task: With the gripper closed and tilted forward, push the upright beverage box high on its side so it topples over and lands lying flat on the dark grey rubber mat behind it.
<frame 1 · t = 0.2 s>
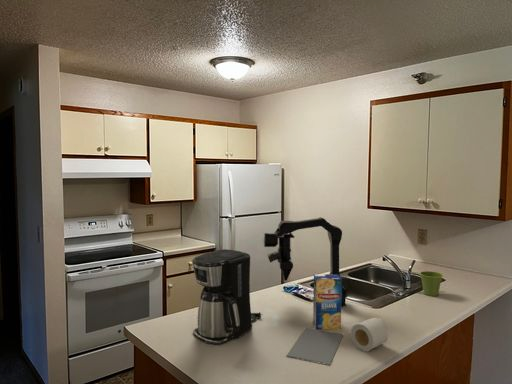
hand: (284, 277, 189), 14 cm above the worktop, tool pointing down, fingers open, 9 cm apart
coffee maker: (232, 331, 161), on the worktop
plant pot: (430, 294, 207), on the worktop
beverage box: (326, 326, 167), on the worktop
toilet paper: (369, 346, 148), on the worktop
mat: (316, 345, 149), on the worktop
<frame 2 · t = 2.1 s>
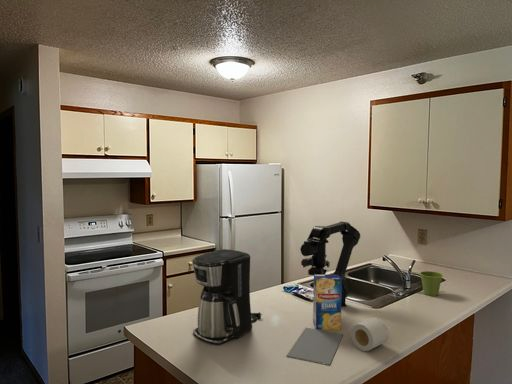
hand: (319, 285, 181), 13 cm above the worktop, tool pointing down, fingers closed
nothing on the worktop moved.
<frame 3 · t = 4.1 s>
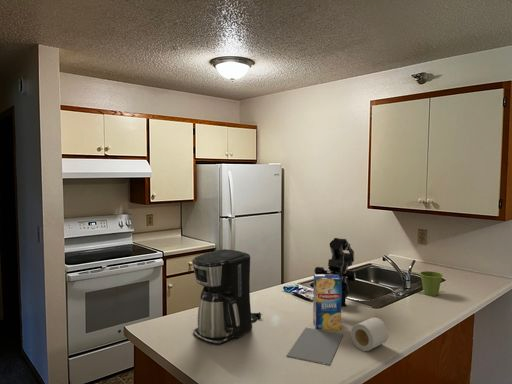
hand: (332, 290, 176), 13 cm above the worktop, tool tilted 45°, fingers closed
nothing on the worktop moved.
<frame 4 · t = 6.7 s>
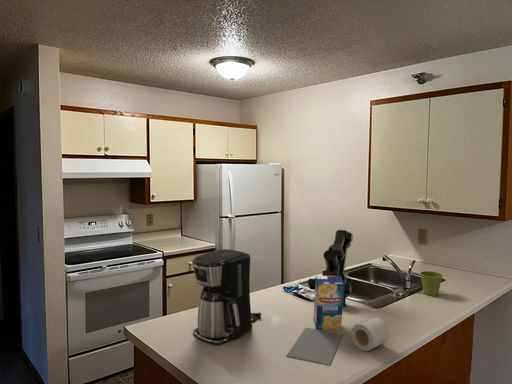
hand: (326, 303, 165), 10 cm above the worktop, tool tilted 45°, fingers closed
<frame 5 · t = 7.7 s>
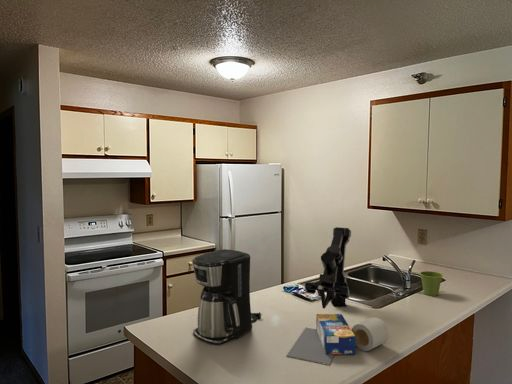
hand: (323, 308, 160), 10 cm above the worktop, tool tilted 45°, fingers closed
beverage box: (328, 321, 163), point 3 cm above the worktop, touching mat
everything else where it was.
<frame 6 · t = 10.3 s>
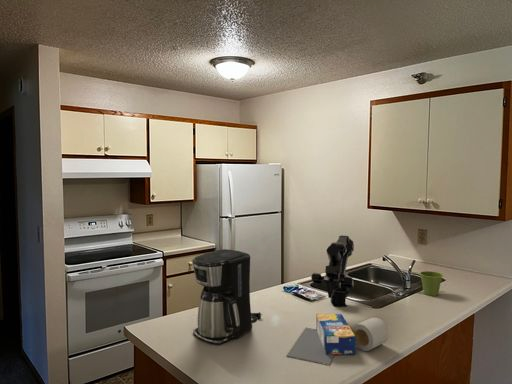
hand: (329, 297, 171), 11 cm above the worktop, tool tilted 45°, fingers closed
nothing on the worktop moved.
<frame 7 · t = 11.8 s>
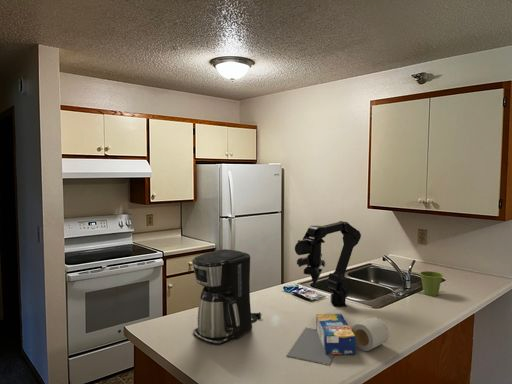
hand: (314, 284, 182), 13 cm above the worktop, tool pointing down, fingers closed
nothing on the worktop moved.
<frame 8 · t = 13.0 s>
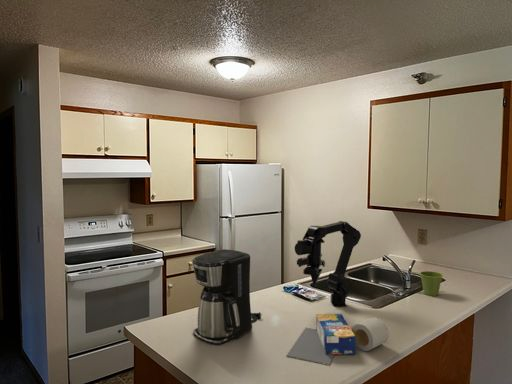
hand: (314, 284, 182), 13 cm above the worktop, tool pointing down, fingers closed
nothing on the worktop moved.
at the end: beverage box tilted 89°; beverage box 16.0 cm from the mat (horizontally); the gripper is holding nothing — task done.
